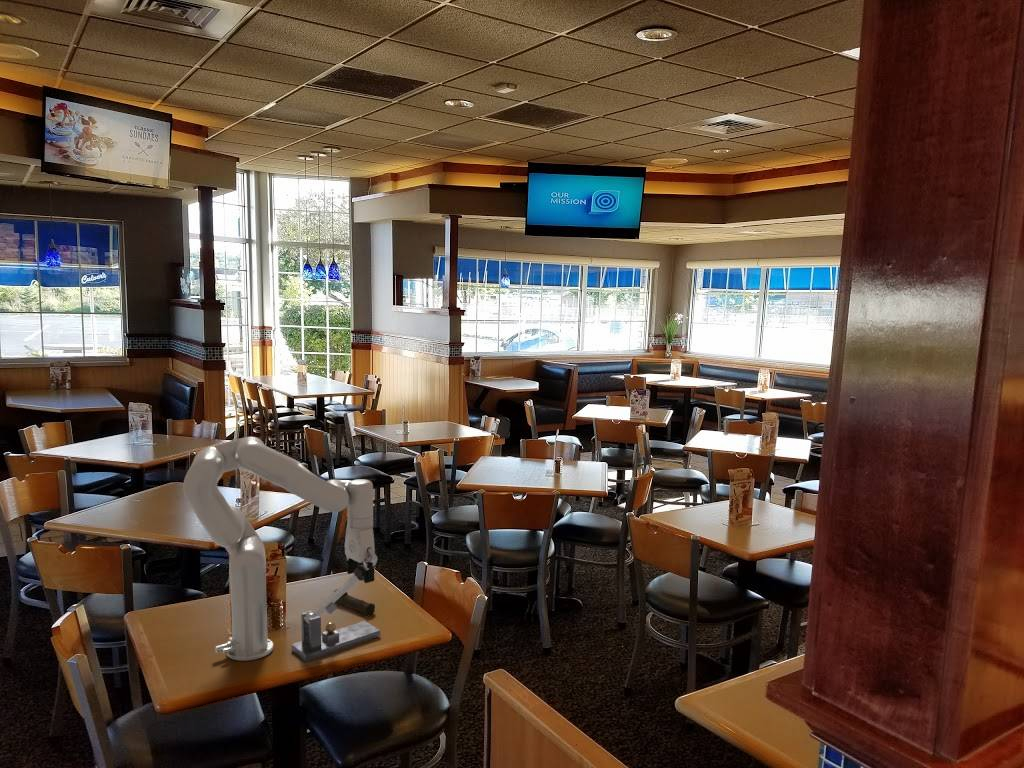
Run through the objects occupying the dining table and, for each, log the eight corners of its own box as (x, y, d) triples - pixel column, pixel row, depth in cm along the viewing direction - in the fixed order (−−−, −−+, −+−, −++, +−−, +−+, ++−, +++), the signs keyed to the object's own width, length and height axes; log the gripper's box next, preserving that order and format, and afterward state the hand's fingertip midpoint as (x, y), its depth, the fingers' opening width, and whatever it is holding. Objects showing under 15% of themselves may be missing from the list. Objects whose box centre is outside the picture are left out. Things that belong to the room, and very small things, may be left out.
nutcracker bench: (306, 661, 204) (305, 624, 203) (291, 650, 210) (290, 613, 209) (380, 636, 220) (379, 601, 219) (364, 626, 226) (364, 592, 225)
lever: (314, 631, 207) (306, 619, 205) (307, 626, 211) (299, 614, 209) (374, 576, 219) (367, 564, 217) (367, 572, 223) (359, 560, 221)
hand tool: (375, 614, 236) (375, 600, 236) (366, 618, 233) (365, 604, 233) (340, 599, 249) (340, 585, 248) (330, 602, 246) (330, 589, 245)
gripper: (334, 517, 221) (335, 572, 223) (364, 530, 208) (364, 588, 210) (356, 513, 226) (357, 566, 228) (386, 525, 213) (387, 582, 215)
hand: (360, 577), depth 219 cm, fingers open, 9 cm apart
